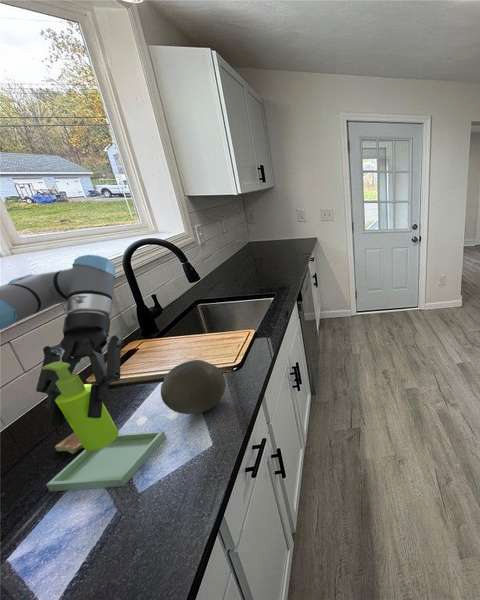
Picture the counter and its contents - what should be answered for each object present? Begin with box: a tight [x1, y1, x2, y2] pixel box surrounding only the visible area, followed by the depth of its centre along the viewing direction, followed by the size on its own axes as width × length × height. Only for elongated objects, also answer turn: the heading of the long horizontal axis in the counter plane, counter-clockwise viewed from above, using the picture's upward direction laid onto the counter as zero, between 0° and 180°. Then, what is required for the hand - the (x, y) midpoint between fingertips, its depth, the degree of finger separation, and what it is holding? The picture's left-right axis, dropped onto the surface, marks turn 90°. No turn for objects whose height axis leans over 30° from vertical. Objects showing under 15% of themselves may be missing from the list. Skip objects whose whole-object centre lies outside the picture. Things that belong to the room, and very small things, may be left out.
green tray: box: [45, 430, 167, 492], centre depth 72 cm, size 16×14×2 cm
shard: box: [54, 431, 84, 455], centre depth 80 cm, size 11×8×2 cm
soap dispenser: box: [41, 361, 120, 451], centre depth 66 cm, size 6×7×20 cm
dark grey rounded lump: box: [160, 359, 227, 415], centre depth 85 cm, size 14×14×15 cm
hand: (74, 421), depth 64 cm, fingers closed on soap dispenser, 6 cm apart
